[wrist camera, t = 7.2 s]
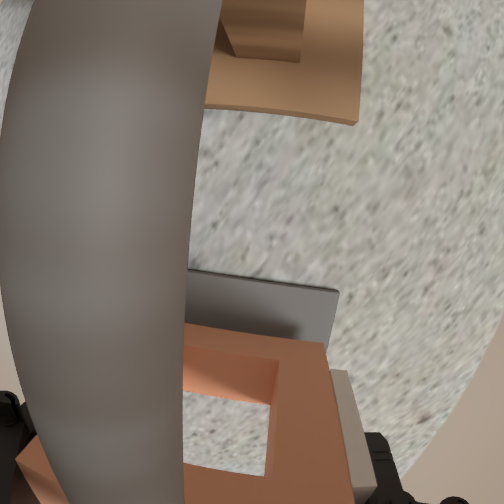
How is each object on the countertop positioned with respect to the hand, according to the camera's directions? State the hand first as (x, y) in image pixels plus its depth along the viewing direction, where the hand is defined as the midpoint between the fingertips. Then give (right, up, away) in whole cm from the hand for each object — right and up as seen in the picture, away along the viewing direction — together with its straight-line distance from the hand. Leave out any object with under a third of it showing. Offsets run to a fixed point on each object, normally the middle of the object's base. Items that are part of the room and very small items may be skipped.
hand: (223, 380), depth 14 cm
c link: (0, +1, +2) cm, 3 cm away
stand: (+2, +12, +2) cm, 13 cm away
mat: (0, +1, +4) cm, 4 cm away
